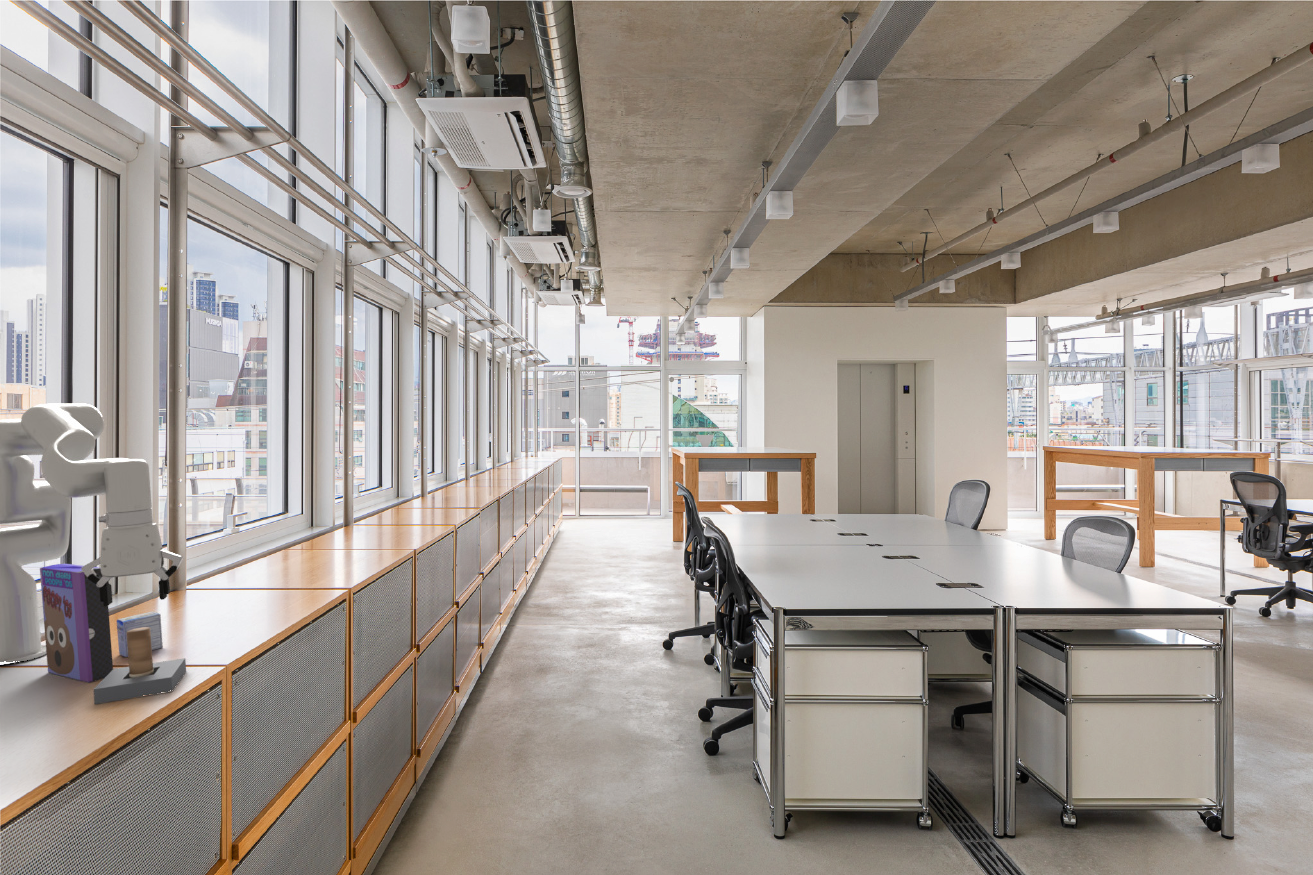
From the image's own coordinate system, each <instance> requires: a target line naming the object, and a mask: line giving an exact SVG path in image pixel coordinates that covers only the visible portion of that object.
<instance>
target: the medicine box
mask: <svg viewBox="0 0 1313 875" xmlns="http://www.w3.org/2000/svg"><path fill="white" fill-rule="evenodd" d="M142 627H149V628H150V633H151V647H152V651H154V650H159V649H161V648H163V647H164V646H163V645H164V642H163V632H162V618H161V613H159V612H155V611H148V612H145V613H138V614H134V615H130V616H127V617H123V618H118V619H116V630H117V631H116V632H117V640H118V641H117V642H118V653H119V655H120V656H122V657H125V658H127V657H128V646H127V633H126V632H127V631H129V630H132V629H136V628H142Z"/></svg>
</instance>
